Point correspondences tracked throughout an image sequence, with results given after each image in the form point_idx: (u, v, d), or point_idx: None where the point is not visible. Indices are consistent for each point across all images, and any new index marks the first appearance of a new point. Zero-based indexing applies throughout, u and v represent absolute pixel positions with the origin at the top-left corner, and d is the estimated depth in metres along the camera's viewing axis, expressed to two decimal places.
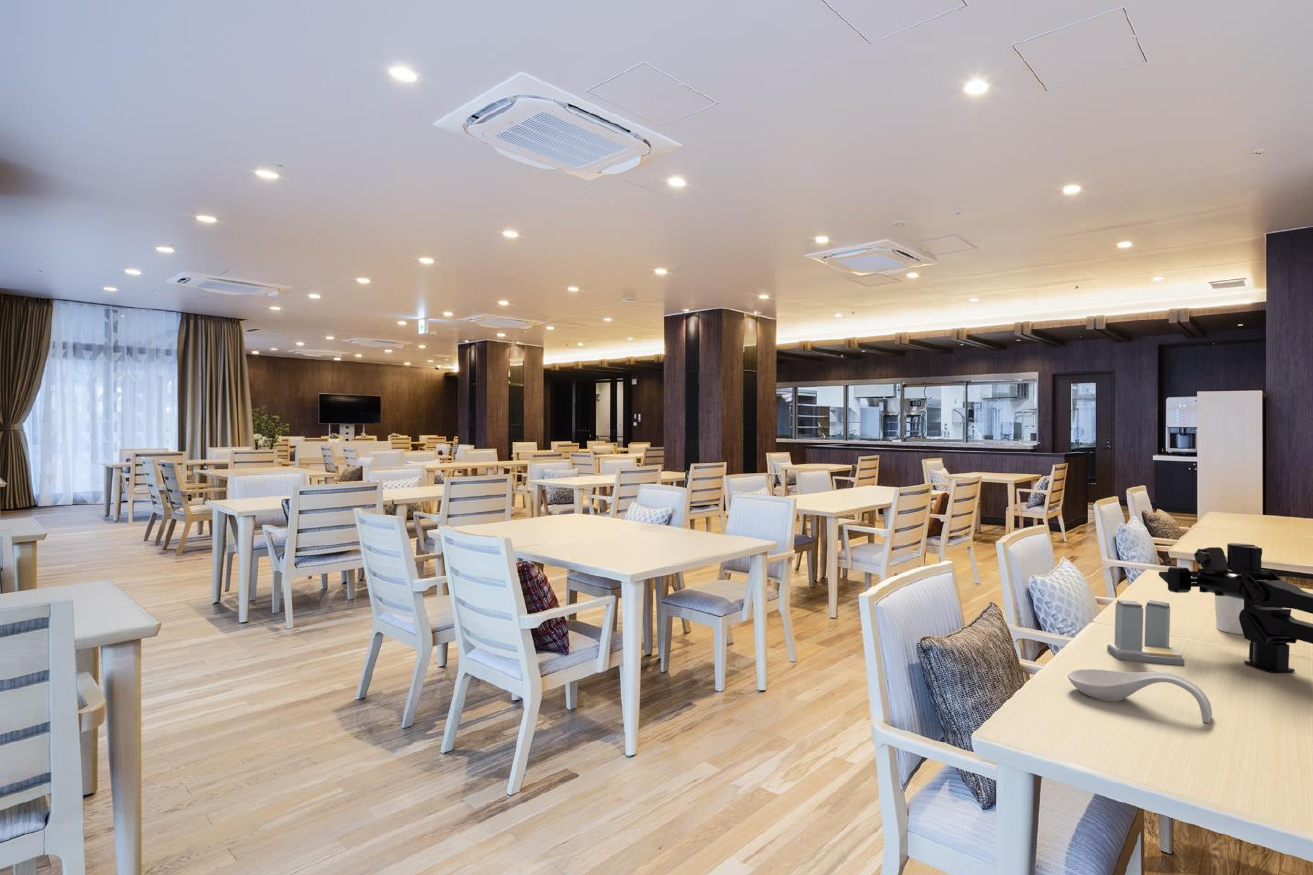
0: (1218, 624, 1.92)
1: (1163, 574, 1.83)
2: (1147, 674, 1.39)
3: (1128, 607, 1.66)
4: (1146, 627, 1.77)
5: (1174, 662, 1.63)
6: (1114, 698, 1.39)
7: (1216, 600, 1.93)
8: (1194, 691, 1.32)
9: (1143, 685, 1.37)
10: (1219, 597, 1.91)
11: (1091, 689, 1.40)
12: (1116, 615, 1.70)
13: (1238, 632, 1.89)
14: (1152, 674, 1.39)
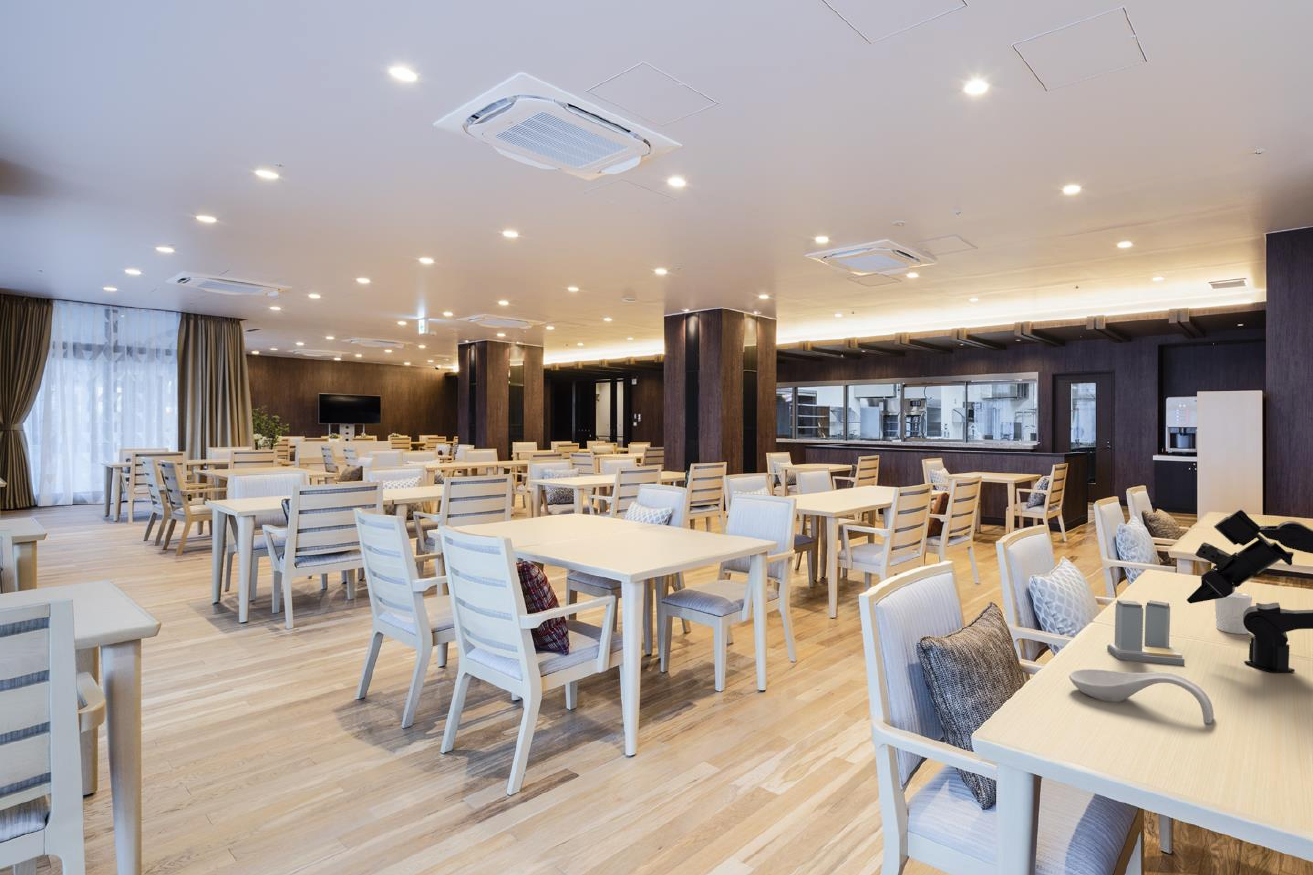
0: (1218, 624, 1.92)
1: (1194, 596, 1.67)
2: (1149, 675, 1.39)
3: (1128, 607, 1.66)
4: (1146, 627, 1.77)
5: (1174, 662, 1.63)
6: (1115, 698, 1.39)
7: (1216, 600, 1.93)
8: (1195, 692, 1.31)
9: (1144, 685, 1.36)
10: None
11: (1092, 689, 1.40)
12: (1116, 615, 1.70)
13: (1238, 632, 1.89)
14: (1153, 674, 1.38)
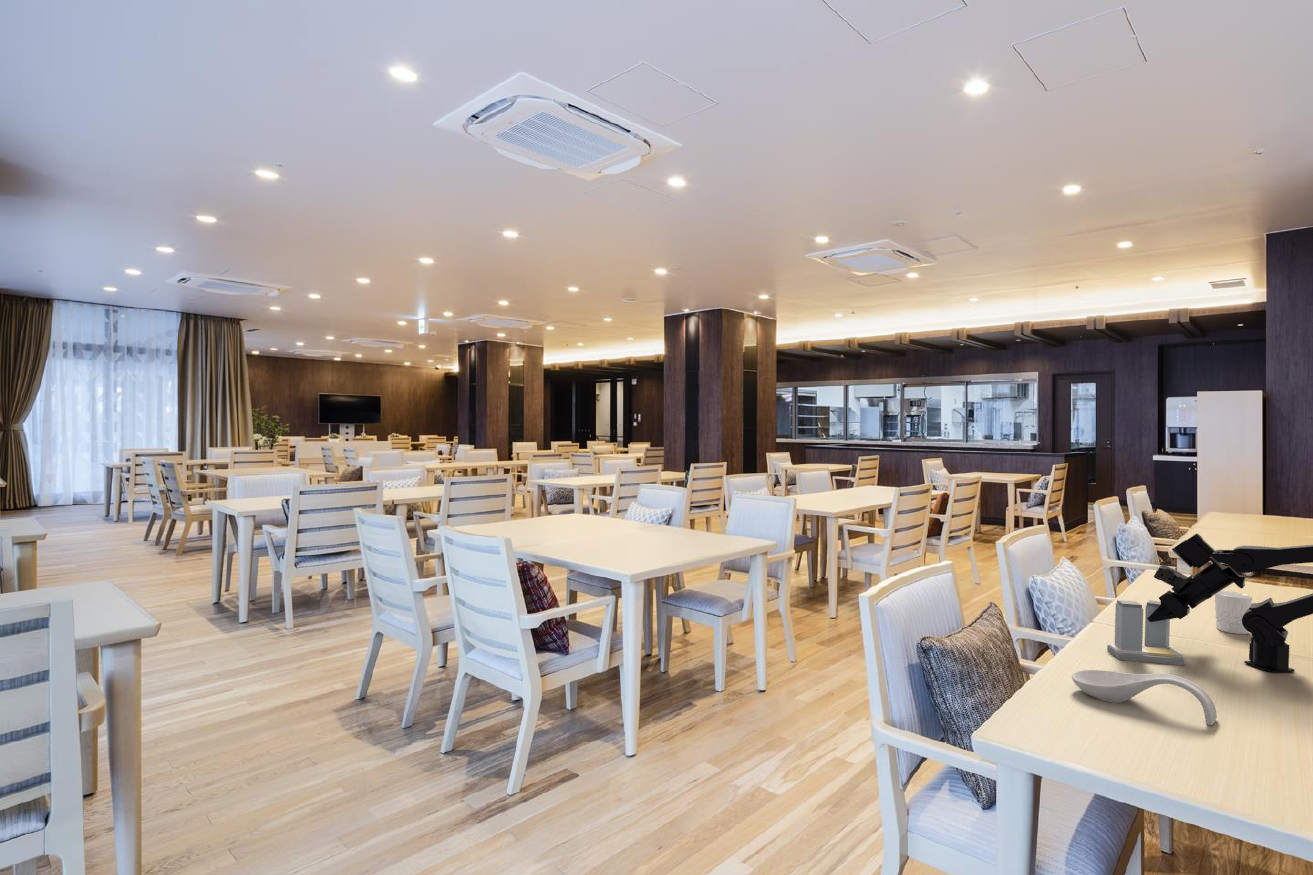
0: (1218, 624, 1.92)
1: (1154, 615, 1.75)
2: (1152, 676, 1.39)
3: (1128, 607, 1.66)
4: (1146, 627, 1.77)
5: (1174, 662, 1.63)
6: (1117, 699, 1.39)
7: (1216, 600, 1.93)
8: (1197, 693, 1.31)
9: (1146, 686, 1.36)
10: (1219, 597, 1.91)
11: (1093, 689, 1.40)
12: (1116, 615, 1.70)
13: (1238, 632, 1.89)
14: (1156, 675, 1.38)
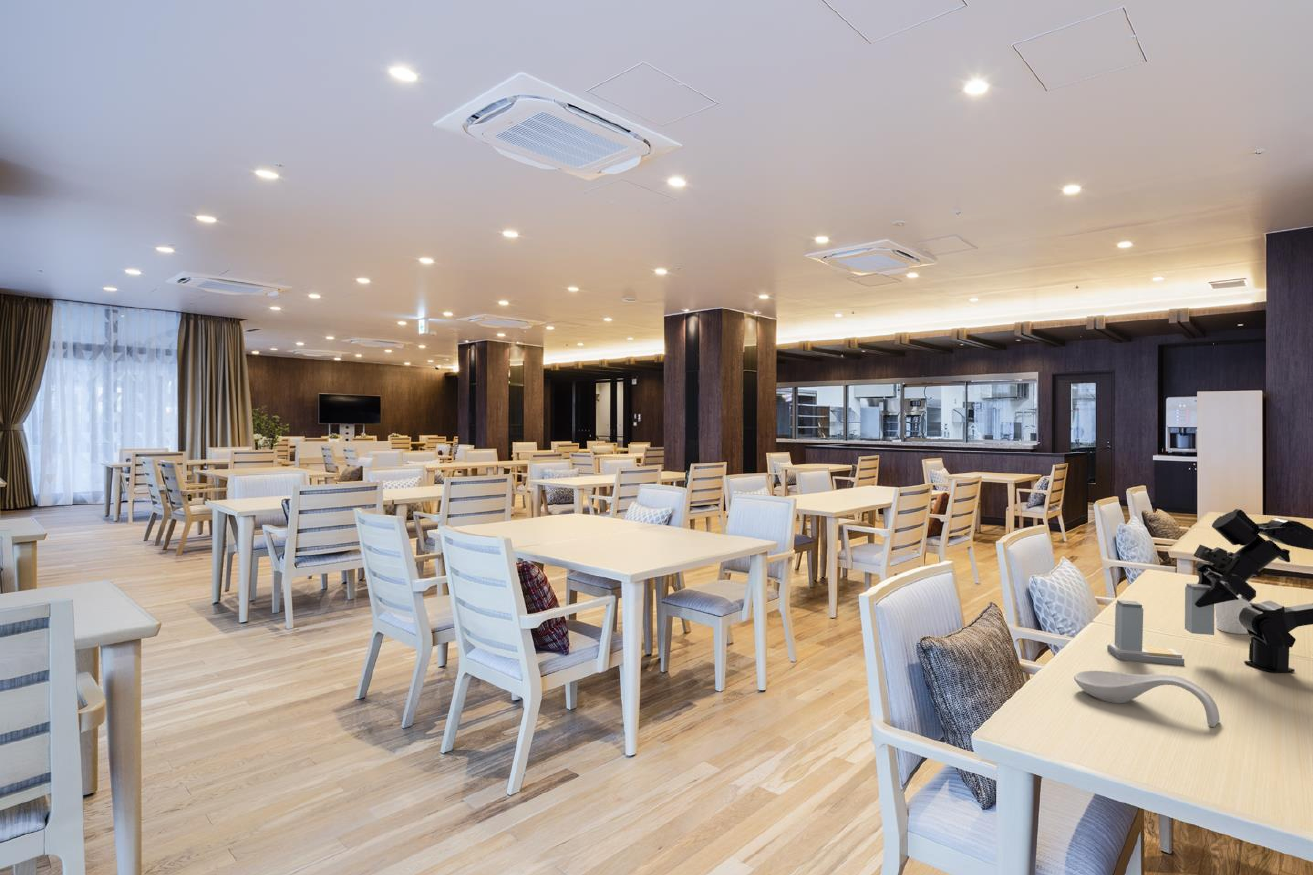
0: (1218, 624, 1.92)
1: (1205, 600, 1.63)
2: (1154, 677, 1.38)
3: (1128, 607, 1.66)
4: (1193, 613, 1.64)
5: (1174, 662, 1.63)
6: (1119, 700, 1.38)
7: None
8: (1199, 694, 1.30)
9: (1148, 687, 1.36)
10: None
11: (1095, 690, 1.39)
12: (1116, 615, 1.70)
13: (1238, 632, 1.89)
14: (1159, 677, 1.37)
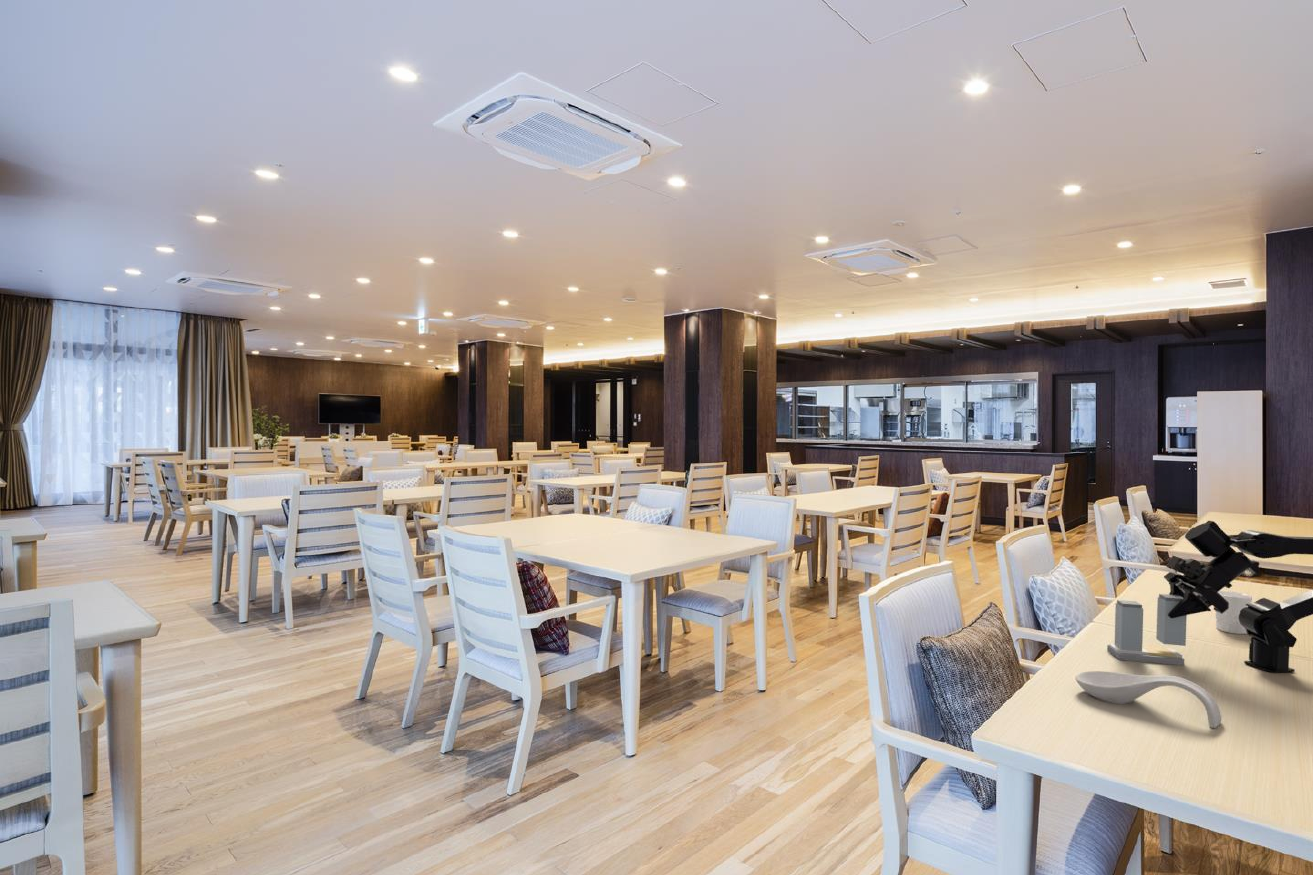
0: (1218, 624, 1.92)
1: (1177, 611, 1.63)
2: (1156, 677, 1.38)
3: (1128, 607, 1.66)
4: (1166, 624, 1.65)
5: (1174, 662, 1.63)
6: (1120, 700, 1.38)
7: None
8: (1201, 695, 1.30)
9: (1149, 688, 1.35)
10: None
11: (1096, 690, 1.39)
12: (1116, 615, 1.70)
13: (1238, 632, 1.89)
14: (1161, 677, 1.37)
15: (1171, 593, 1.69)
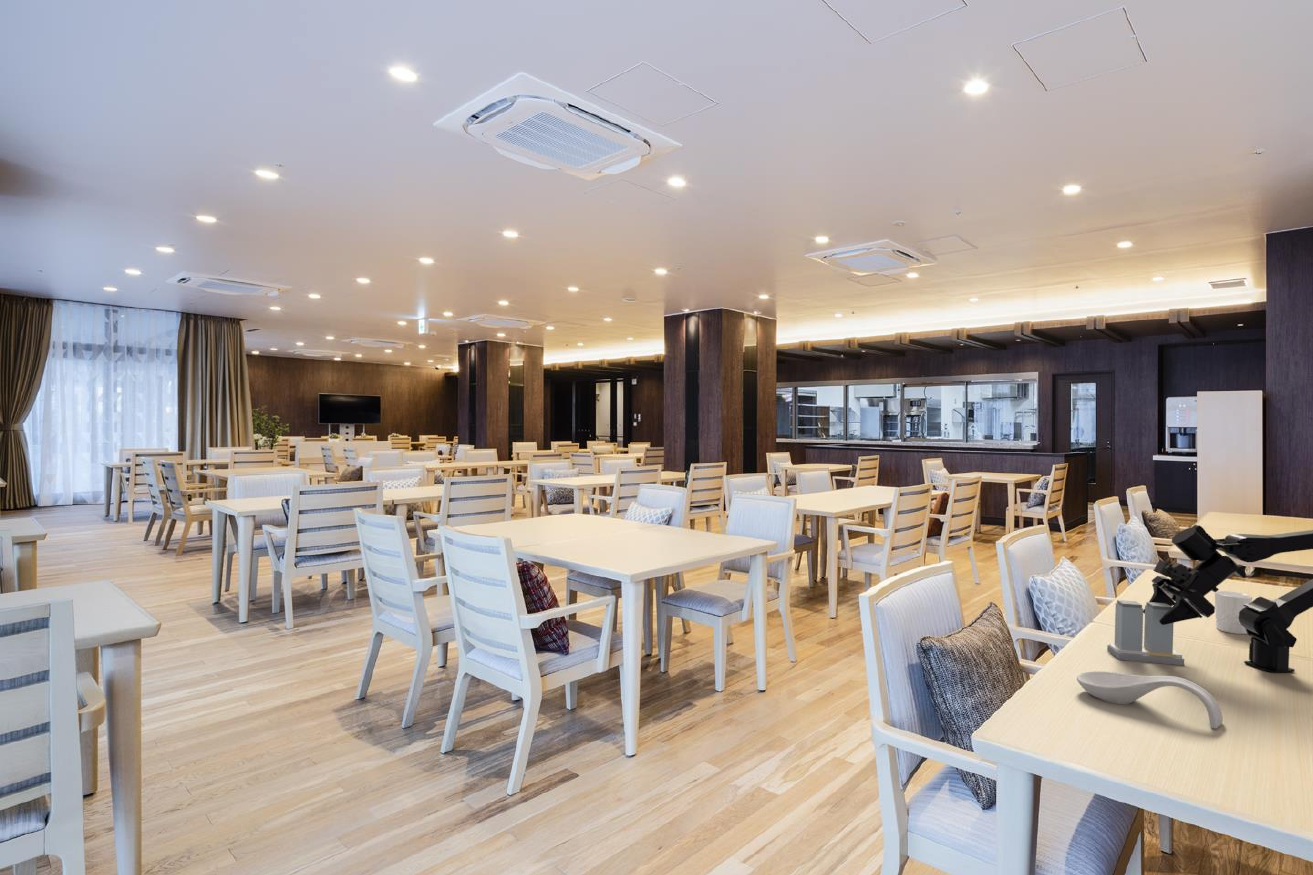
0: (1218, 624, 1.92)
1: (1169, 617, 1.62)
2: (1158, 678, 1.37)
3: (1128, 607, 1.66)
4: (1153, 632, 1.65)
5: (1174, 662, 1.63)
6: (1121, 700, 1.38)
7: (1216, 600, 1.93)
8: (1202, 696, 1.29)
9: (1150, 688, 1.35)
10: (1219, 597, 1.91)
11: (1097, 690, 1.39)
12: (1116, 615, 1.70)
13: (1238, 632, 1.89)
14: (1162, 678, 1.37)
15: (1154, 595, 1.71)
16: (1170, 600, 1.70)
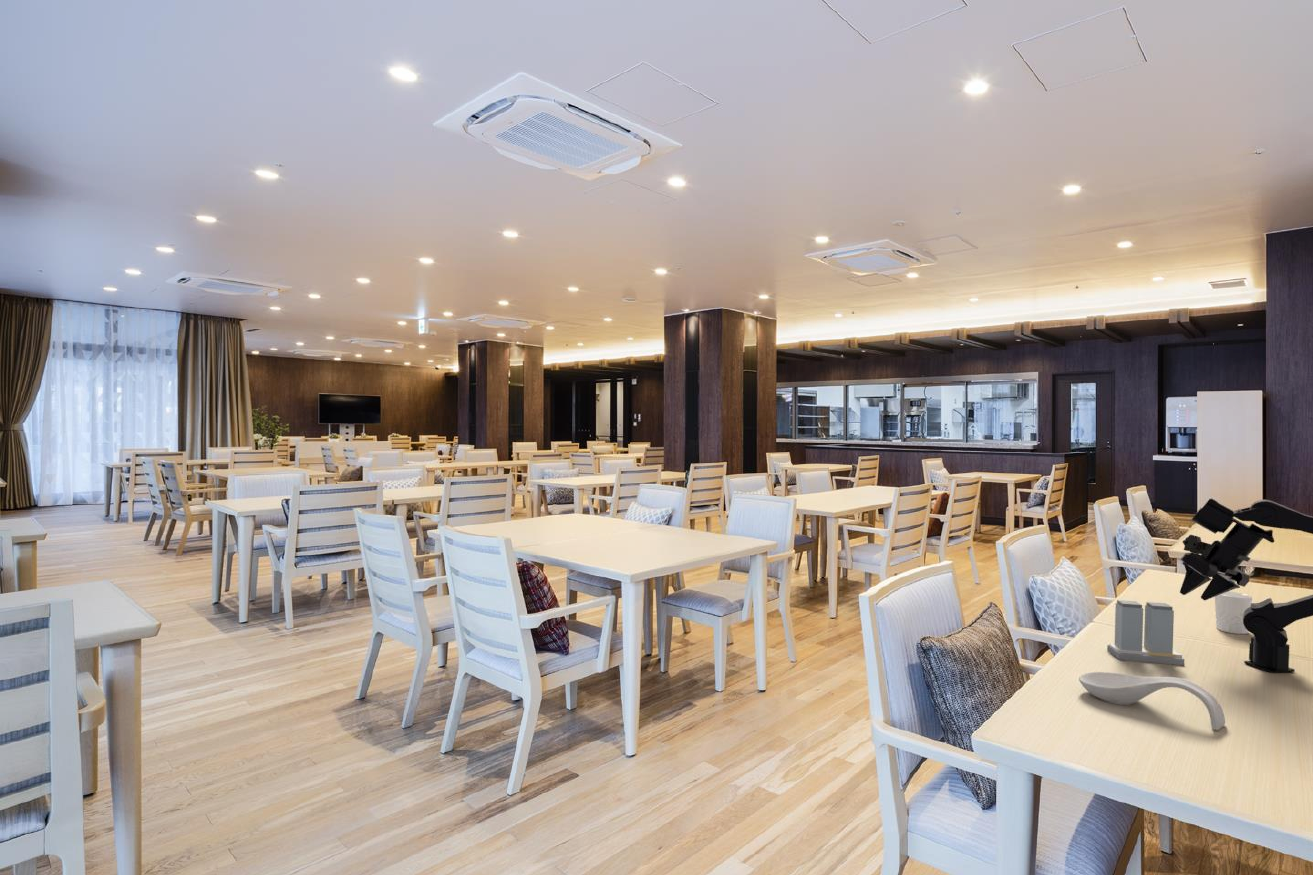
0: (1218, 624, 1.92)
1: (1185, 586, 1.68)
2: (1160, 679, 1.37)
3: (1128, 607, 1.66)
4: (1153, 632, 1.65)
5: (1174, 662, 1.63)
6: (1123, 701, 1.38)
7: (1216, 600, 1.93)
8: (1203, 697, 1.29)
9: (1152, 689, 1.35)
10: (1219, 597, 1.91)
11: (1098, 691, 1.39)
12: (1116, 615, 1.70)
13: (1238, 632, 1.89)
14: (1164, 679, 1.36)
15: None
16: (1227, 582, 1.69)
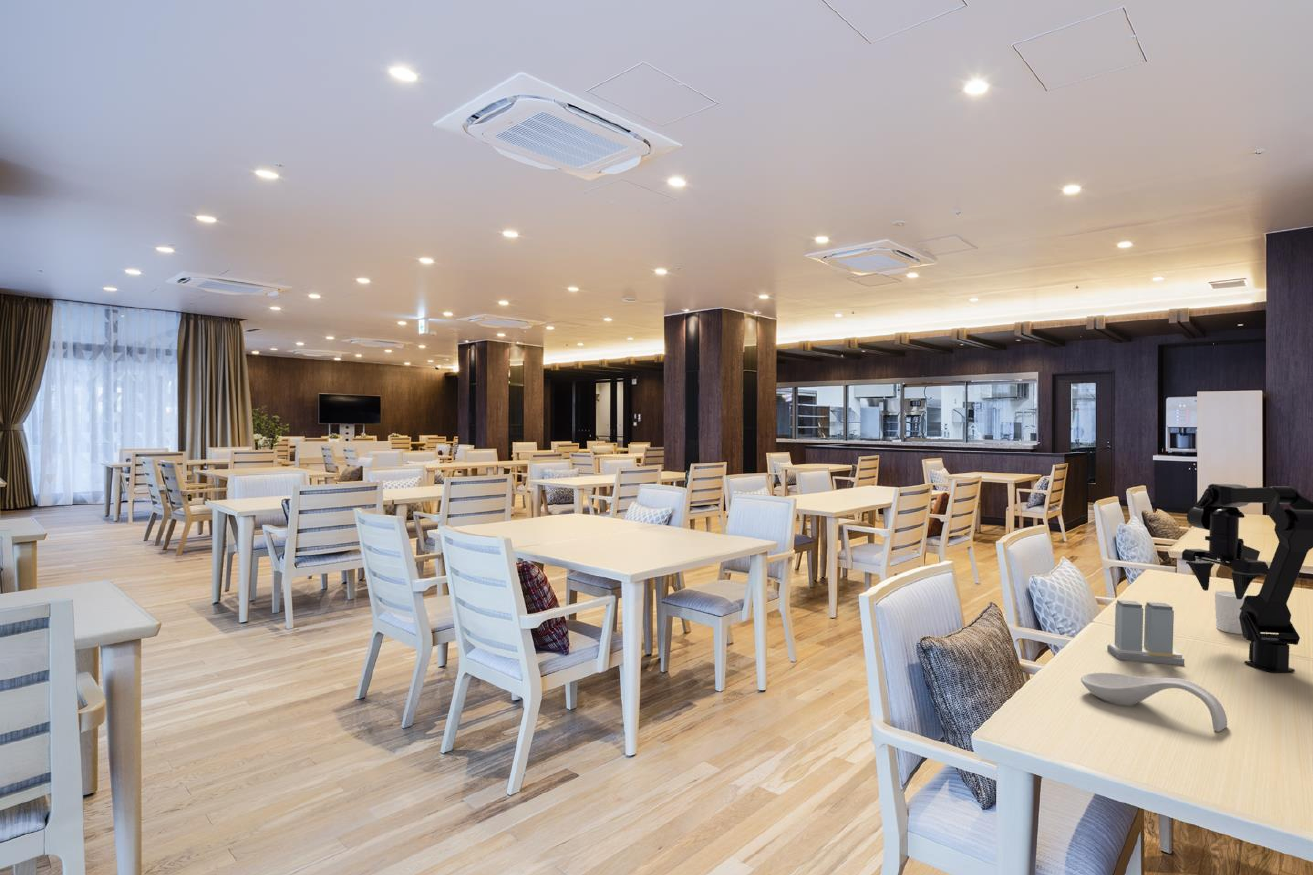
0: (1218, 624, 1.92)
1: None
2: (1162, 680, 1.36)
3: (1128, 607, 1.66)
4: (1153, 632, 1.65)
5: (1174, 662, 1.63)
6: (1124, 702, 1.37)
7: (1216, 600, 1.93)
8: (1205, 698, 1.28)
9: (1154, 690, 1.34)
10: (1219, 597, 1.91)
11: (1099, 691, 1.39)
12: (1116, 615, 1.70)
13: (1238, 632, 1.89)
14: (1167, 680, 1.35)
15: None
16: None
